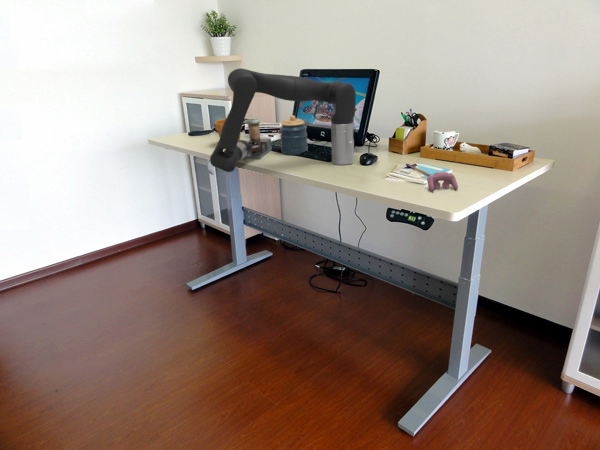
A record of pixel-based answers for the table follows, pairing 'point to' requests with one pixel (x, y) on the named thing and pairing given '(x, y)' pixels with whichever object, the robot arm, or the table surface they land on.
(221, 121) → the flower pot
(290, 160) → the table surface
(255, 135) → the brown capped cylinder
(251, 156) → the mount
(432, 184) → the video game controller
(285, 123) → the canister
